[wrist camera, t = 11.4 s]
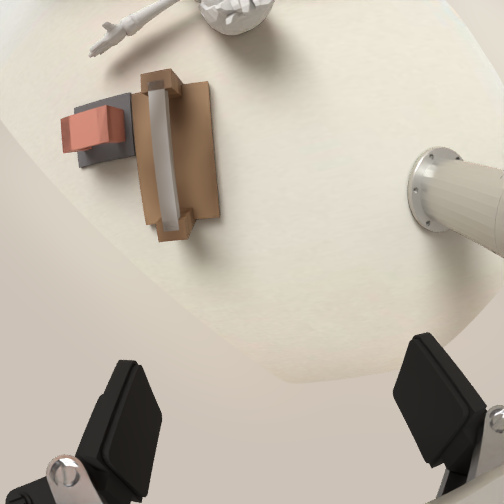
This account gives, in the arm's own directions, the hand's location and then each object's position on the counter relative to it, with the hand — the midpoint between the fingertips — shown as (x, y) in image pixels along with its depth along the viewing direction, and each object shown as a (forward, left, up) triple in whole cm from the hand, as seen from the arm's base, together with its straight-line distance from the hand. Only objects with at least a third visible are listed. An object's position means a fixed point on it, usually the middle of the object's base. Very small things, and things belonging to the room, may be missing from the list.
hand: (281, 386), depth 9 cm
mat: (+17, -12, -28) cm, 34 cm away
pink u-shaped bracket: (+17, -12, -27) cm, 34 cm away
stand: (+8, -7, -28) cm, 30 cm away
